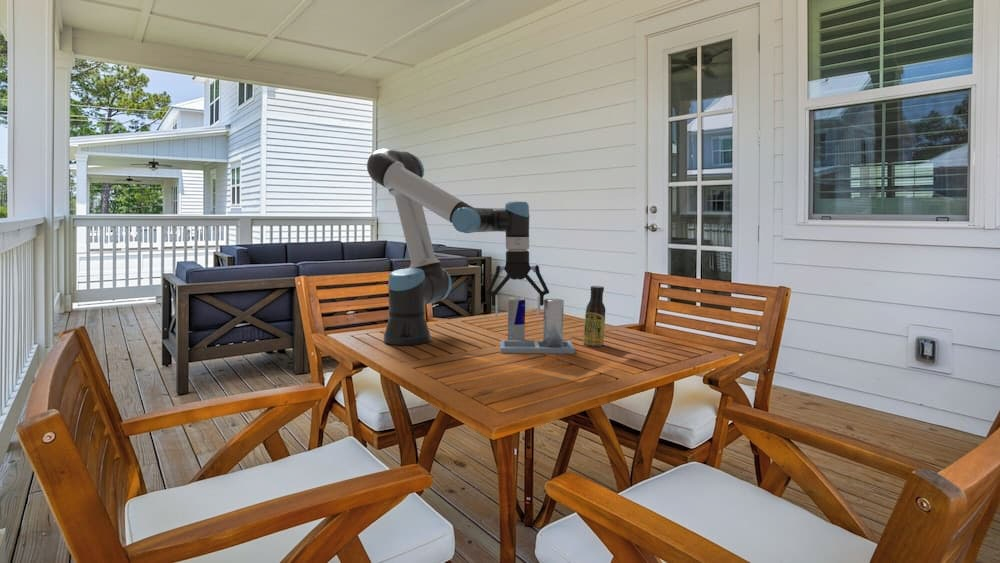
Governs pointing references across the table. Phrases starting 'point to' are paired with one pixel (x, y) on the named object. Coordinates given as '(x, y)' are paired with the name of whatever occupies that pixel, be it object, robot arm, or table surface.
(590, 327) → the sauce bottle
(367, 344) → the table surface
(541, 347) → the divided tray
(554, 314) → the twin can
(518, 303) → the beverage can
